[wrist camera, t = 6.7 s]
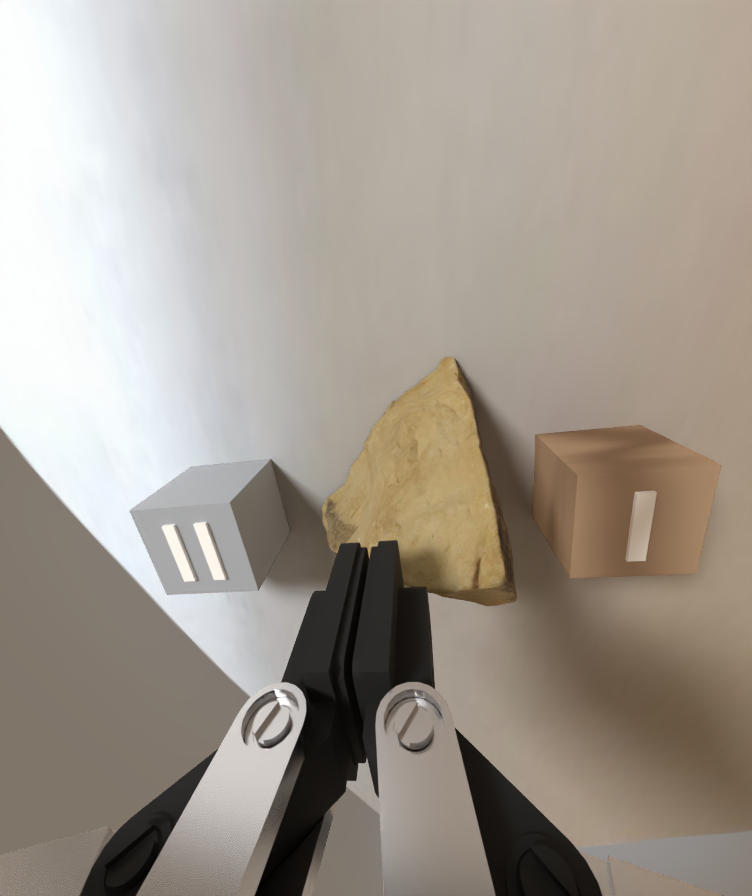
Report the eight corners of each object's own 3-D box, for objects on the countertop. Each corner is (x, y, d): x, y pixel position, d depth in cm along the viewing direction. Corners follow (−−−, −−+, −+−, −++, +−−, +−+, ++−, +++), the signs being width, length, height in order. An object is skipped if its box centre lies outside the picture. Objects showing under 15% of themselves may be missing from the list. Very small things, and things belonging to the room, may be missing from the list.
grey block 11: (271, 458, 20) (228, 504, 15) (291, 533, 22) (258, 595, 17) (192, 466, 21) (126, 512, 16) (217, 538, 23) (166, 599, 18)
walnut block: (639, 424, 18) (725, 466, 13) (626, 513, 19) (698, 578, 15) (534, 433, 18) (579, 477, 13) (532, 518, 20) (570, 583, 15)
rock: (340, 596, 20) (522, 580, 17) (230, 633, 13) (524, 617, 9) (326, 423, 23) (477, 382, 20) (230, 368, 16) (450, 286, 12)
